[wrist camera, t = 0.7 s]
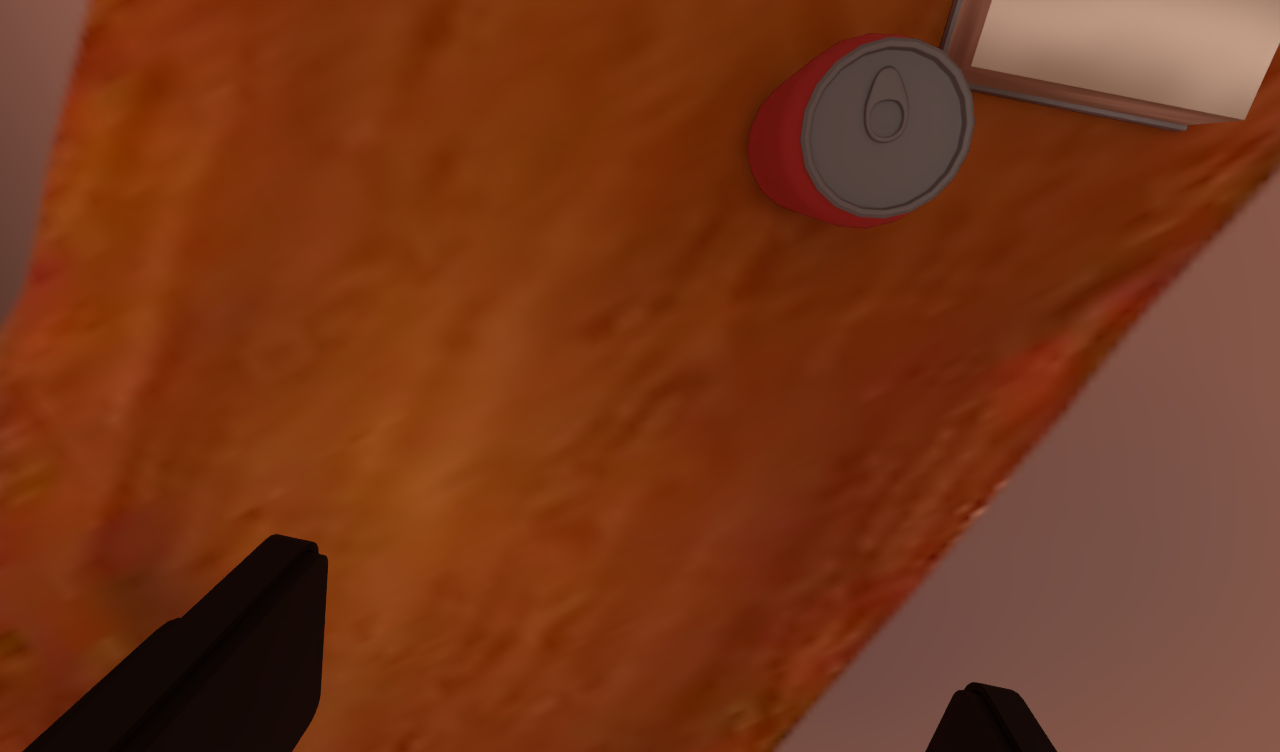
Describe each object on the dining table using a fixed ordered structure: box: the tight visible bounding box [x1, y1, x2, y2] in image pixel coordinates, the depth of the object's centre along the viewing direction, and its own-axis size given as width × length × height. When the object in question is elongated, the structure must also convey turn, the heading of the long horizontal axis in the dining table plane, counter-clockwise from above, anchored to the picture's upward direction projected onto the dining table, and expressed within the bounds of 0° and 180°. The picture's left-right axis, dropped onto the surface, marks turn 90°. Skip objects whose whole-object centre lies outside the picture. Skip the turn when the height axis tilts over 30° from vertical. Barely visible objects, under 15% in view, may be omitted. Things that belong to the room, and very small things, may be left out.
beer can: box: [748, 33, 975, 228], centre depth 26 cm, size 7×7×12 cm
